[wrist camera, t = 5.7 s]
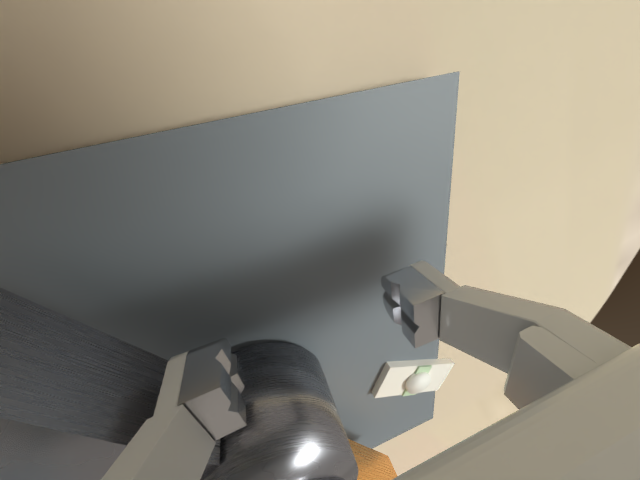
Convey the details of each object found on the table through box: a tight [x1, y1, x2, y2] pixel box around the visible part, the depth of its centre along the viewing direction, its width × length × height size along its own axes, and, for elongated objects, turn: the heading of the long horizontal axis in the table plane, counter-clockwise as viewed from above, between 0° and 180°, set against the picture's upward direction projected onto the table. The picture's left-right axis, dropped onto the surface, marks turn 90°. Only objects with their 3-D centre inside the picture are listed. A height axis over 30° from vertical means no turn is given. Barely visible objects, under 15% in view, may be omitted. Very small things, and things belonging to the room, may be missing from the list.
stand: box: [0, 71, 459, 449], centre depth 12 cm, size 22×21×2 cm
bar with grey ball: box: [0, 288, 397, 480], centre depth 9 cm, size 20×6×5 cm, turn 38°
